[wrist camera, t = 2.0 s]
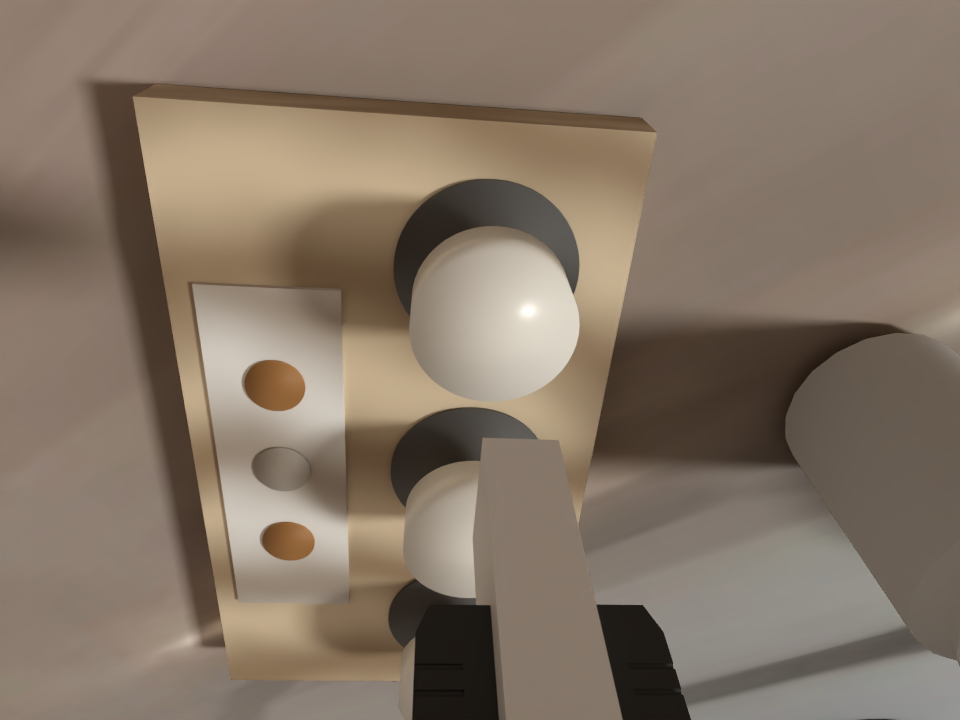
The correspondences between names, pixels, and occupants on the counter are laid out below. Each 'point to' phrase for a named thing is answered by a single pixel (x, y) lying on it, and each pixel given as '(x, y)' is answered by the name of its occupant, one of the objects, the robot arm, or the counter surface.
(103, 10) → the counter surface
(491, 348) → the button
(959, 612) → the can
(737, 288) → the counter surface
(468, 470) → the button
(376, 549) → the button board
